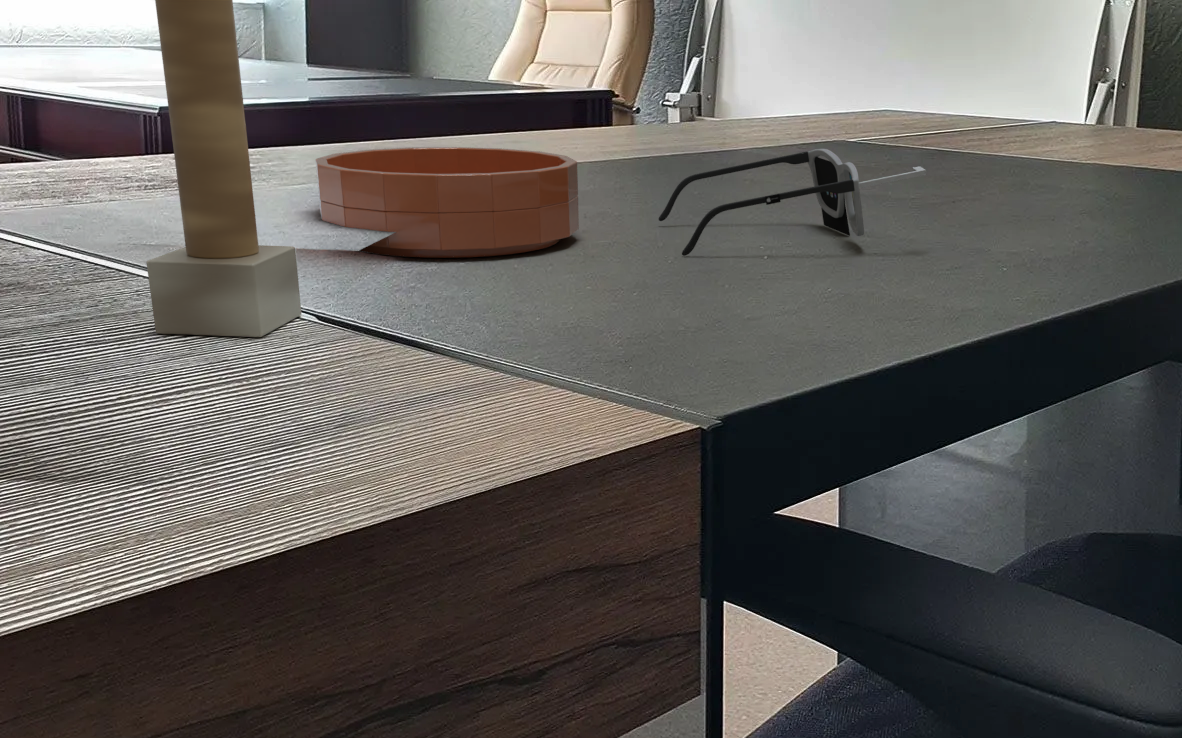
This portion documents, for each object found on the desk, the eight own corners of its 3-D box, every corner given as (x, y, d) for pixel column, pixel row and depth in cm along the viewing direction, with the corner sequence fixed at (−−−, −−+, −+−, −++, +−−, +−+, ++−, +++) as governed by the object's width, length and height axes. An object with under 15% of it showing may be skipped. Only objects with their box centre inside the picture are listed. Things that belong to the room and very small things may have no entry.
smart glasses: (937, 246, 79) (927, 158, 77) (691, 298, 77) (674, 209, 75) (882, 210, 90) (871, 132, 88) (664, 255, 88) (649, 176, 86)
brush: (155, 333, 57) (102, -62, 52) (203, 311, 61) (158, -58, 56) (261, 337, 56) (218, -59, 51) (302, 314, 61) (266, -55, 56)
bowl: (283, 256, 74) (274, 169, 72) (372, 217, 87) (366, 144, 86) (548, 265, 73) (545, 178, 72) (597, 225, 87) (595, 151, 85)
